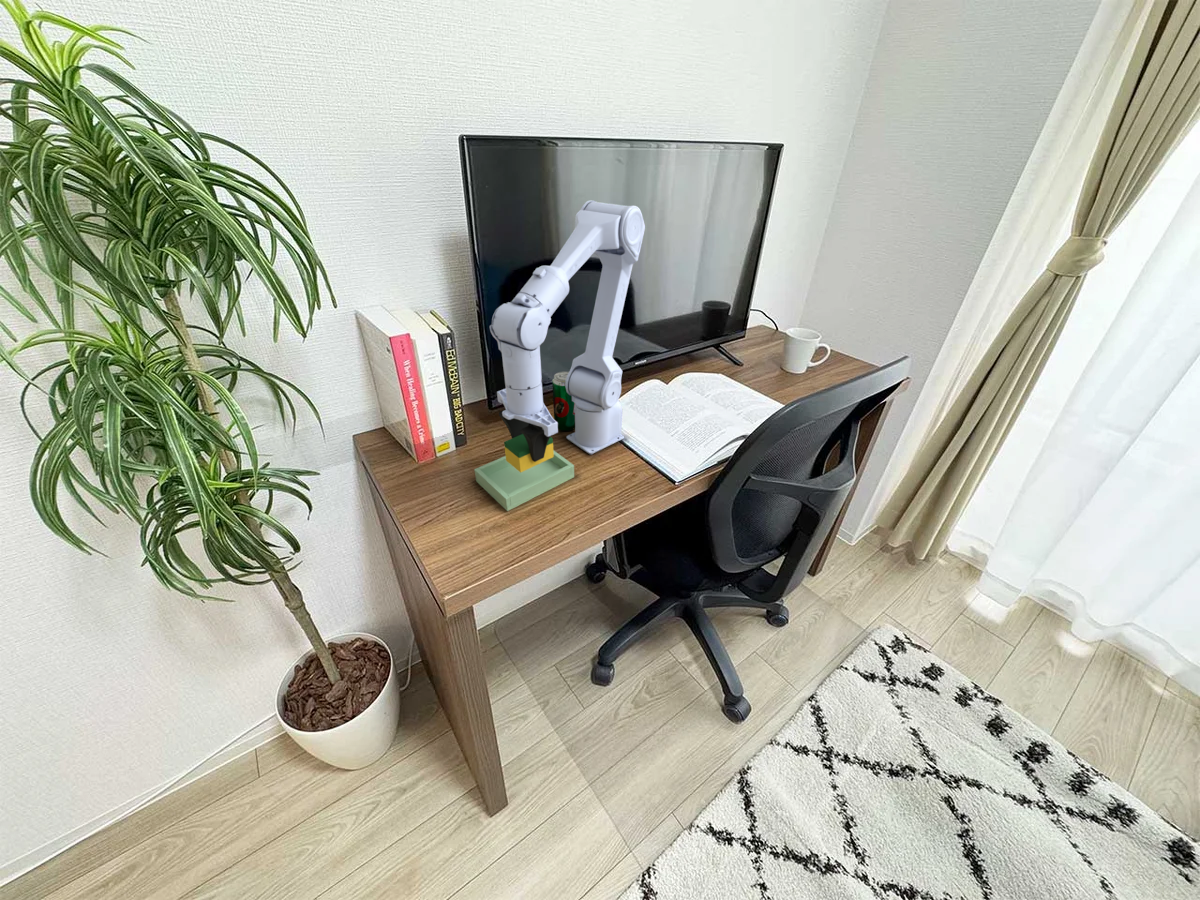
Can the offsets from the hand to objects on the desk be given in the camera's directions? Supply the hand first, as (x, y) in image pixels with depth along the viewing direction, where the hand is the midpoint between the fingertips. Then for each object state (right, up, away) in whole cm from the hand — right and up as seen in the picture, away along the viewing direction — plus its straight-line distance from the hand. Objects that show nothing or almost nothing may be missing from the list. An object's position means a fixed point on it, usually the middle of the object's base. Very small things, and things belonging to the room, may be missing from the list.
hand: (529, 452), depth 82 cm
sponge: (0, -1, +1) cm, 1 cm away
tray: (-2, -5, +5) cm, 8 cm away
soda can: (+5, +5, +21) cm, 22 cm away
